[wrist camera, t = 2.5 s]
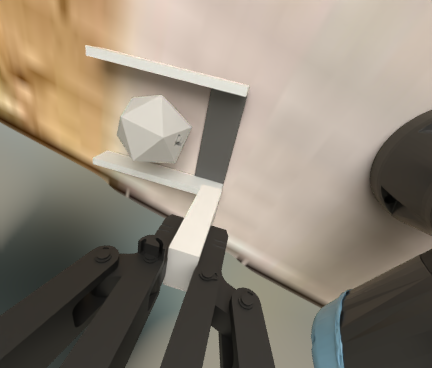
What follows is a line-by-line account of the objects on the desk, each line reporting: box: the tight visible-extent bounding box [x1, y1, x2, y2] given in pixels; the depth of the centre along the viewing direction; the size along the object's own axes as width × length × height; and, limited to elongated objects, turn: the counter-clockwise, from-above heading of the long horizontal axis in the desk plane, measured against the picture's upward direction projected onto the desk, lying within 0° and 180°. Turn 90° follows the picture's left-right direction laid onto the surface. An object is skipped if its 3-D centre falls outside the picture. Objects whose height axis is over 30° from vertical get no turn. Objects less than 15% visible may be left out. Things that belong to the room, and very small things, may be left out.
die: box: [117, 95, 192, 164], centre depth 27 cm, size 8×9×10 cm
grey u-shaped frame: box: [85, 45, 250, 194], centre depth 29 cm, size 19×15×4 cm
